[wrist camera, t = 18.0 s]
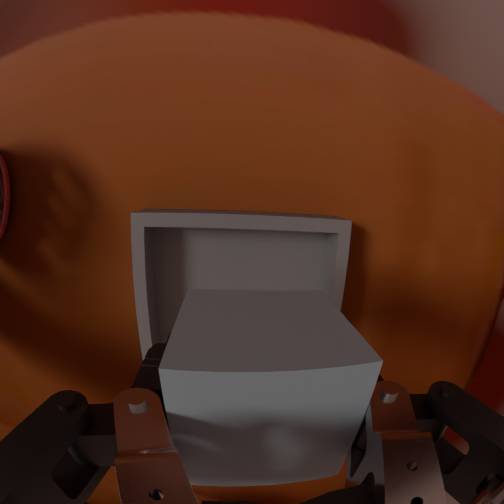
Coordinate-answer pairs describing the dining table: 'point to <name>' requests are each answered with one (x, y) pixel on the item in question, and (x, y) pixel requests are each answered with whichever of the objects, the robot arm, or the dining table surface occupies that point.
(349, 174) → the dining table surface
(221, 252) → the tray
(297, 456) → the slate block
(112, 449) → the robot arm
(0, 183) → the plant pot
